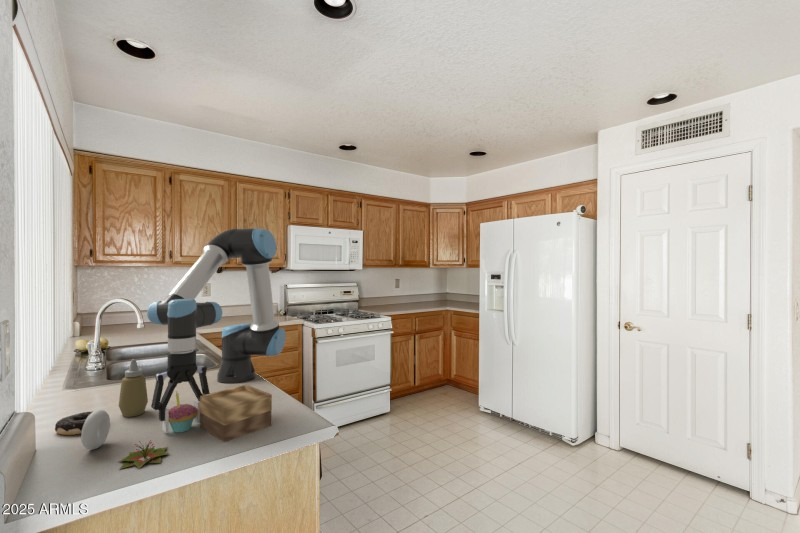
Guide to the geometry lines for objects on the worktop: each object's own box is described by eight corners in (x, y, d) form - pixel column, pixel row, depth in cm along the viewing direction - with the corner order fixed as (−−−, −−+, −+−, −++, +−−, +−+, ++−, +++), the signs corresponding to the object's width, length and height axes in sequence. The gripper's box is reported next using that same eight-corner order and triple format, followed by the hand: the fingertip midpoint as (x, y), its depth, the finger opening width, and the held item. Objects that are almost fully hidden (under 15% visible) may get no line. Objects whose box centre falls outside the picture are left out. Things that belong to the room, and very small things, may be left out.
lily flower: (166, 467, 98) (166, 448, 98) (108, 476, 94) (108, 456, 94) (175, 446, 109) (175, 429, 109) (124, 453, 105) (124, 436, 105)
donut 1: (92, 435, 115) (92, 421, 115) (45, 439, 112) (45, 425, 112) (111, 420, 126) (111, 407, 126) (68, 423, 123) (68, 410, 123)
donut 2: (93, 456, 102) (93, 417, 102) (77, 457, 102) (78, 418, 101) (112, 439, 112) (112, 403, 112) (98, 440, 111) (98, 404, 111)
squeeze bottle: (115, 414, 130) (115, 359, 130) (144, 407, 136) (144, 355, 136) (121, 420, 125) (122, 363, 125) (151, 413, 131) (151, 359, 131)
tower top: (245, 399, 132) (245, 384, 132) (271, 410, 123) (271, 394, 123) (199, 412, 121) (199, 396, 121) (224, 425, 111) (224, 407, 111)
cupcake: (183, 436, 114) (183, 394, 114) (158, 433, 116) (158, 392, 116) (203, 424, 123) (204, 385, 122) (179, 422, 124) (180, 383, 124)
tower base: (246, 414, 132) (246, 399, 132) (271, 427, 123) (271, 410, 122) (200, 428, 121) (200, 412, 121) (223, 443, 111) (223, 425, 111)
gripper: (212, 343, 129) (211, 413, 130) (137, 354, 114) (137, 433, 114) (222, 347, 125) (222, 419, 125) (146, 359, 109) (146, 441, 109)
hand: (181, 426), depth 119 cm, fingers closed on cupcake, 8 cm apart
